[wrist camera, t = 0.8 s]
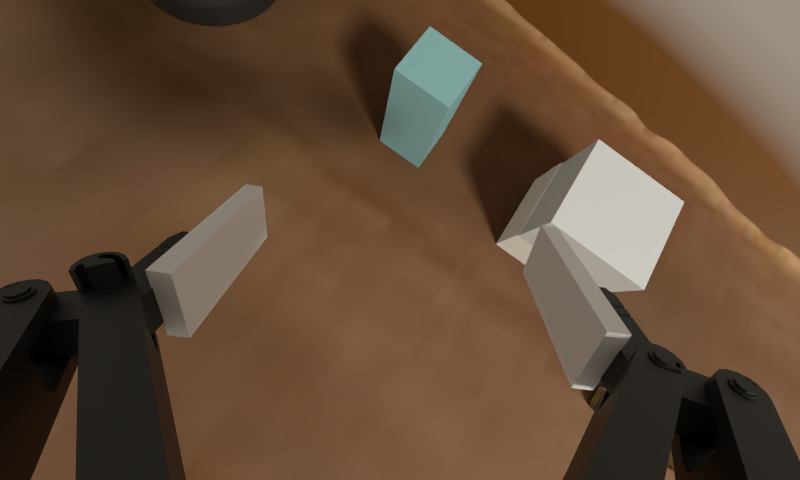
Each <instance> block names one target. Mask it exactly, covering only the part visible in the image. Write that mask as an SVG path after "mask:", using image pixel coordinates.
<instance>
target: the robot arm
mask: <svg viewBox="0 0 800 480" xmlns="http://www.w3.org/2000/svg"><path fill="white" fill-rule="evenodd" d="M151 1H152V2H153V3H154V4H155V5H157V6H158V7H159V8H161V9H162V10H163V11H165V12H167V13H168V14H170V15H172V16H174V17H177V18H179V19H181V20H184V21H187V22H191V23H195V24H200V25H209V26H223V25H231V24H237V23H240V22H244V21H247V20H249V19H252V18H254V17H256V16H258V15H259V14H261V13H262V12H264V11H265V10H266V9H268V8H269V7H270V6H271V5H272V4H273V3H274V1H275V0H151ZM266 238H267V229H266V219H265V209H264V199H263V189H262V186H255V185H247V184H246V185H244V186H243V187H242V188H241V189H240V190H239V191H237V192H236V193H235V194H234V195H233V196H231V197H230V198H229V199H228V200H227V201H226V202H224V203H223V204H222V205H221V206H220V207H219V208H217V209H216V210H215V211H214V212H213V213H211V214H210V215H209V216H208V217H207V218H206V219H204V220H203V221H202V222H201V223H200V224H199V225H197V226H196V227H195V228H194V229H193V230H192V231H190V232H184V231H182V232H180V233H178V234H175V235H173V236H171V237H169V238H167V239H166V240H165V241H164V242H163V243H161V244H160V245H159V247H156V248H155V249H154V250H153V251H151V253H149V254H148V255H146V256H145V257H144V258H143V259H141V260H140V261H139V262H138V263H136V264H135V265H134V266H133V267H131V266H130V263H129V260H128V258H127V257H126V255H125V254H122V253H119V252H103V253H97V254H93V255H90V256H87V257H85V258H82V259H80V260H78V261H77V262H75V263H74V264H73V265H72V266H71V267H70V269H69V273H70V275H71V277H72V279H73V281H74V283H75V285H76V287H77V289H78V290H77V291H65V292H54V290H53V288H52V286H51V285H50V284H49V282H48V281H44V280H40V279H36V280H25V281H19V282H15V283H12V284H9V285H6V286H4V287H2V288H0V480H31V477H32V475H33V473H34V470H35V468H36V465H37V463H38V460H39V458H40V455H41V453H42V451H43V448H44V446H45V443H46V441H47V438H48V436H49V434H50V431H51V429H52V426H53V424H54V421H55V419H56V417H57V414H58V412H59V409H60V407H61V404H62V402H63V400H64V397H65V395H66V392H67V390H68V387H69V385H70V383H71V380H72V378H73V375H74V373H75V370H76V368H77V366H78V394H77V441H76V480H186V478H185V473H184V468H183V463H182V458H181V453H180V448H179V443H178V438H177V433H176V428H175V423H174V418H173V413H172V408H171V403H170V398H169V393H168V388H167V383H166V378H165V373H164V368H163V363H162V358H161V353H160V348H159V343H158V338H157V336H156V333H155V331H156V330H157V329H158V328H159V327H160V326H161V324H162V323H163V324H164V327H165V330H166V332H167V335H171V336H179V337H186V338H190V337H191V336H192V335H193V334H194V332H195V331H196V330H197V328H198V327H199V326H200V324H201V323H202V322H203V320H204V319H205V318H206V317H207V315H208V314H209V313H210V311H211V310H212V309H213V307H214V306H215V305H216V303H217V302H218V301H219V300H220V298H221V297H222V296H223V294H224V293H225V292H226V290H227V289H228V288H229V286H230V285H231V284H232V283H233V281H234V280H235V279H236V277H237V276H238V275H239V273H240V272H241V271H242V269H243V268H244V267H245V266H246V264H247V263H248V262H249V260H250V259H251V258H252V256H253V255H254V254H255V252H256V251H257V250H258V249H259V247H260V246H261V245H262V243H263V242H264V241H265V239H266ZM523 274H524V276H525V278H526V281H527V283H528V285H529V288H530V290H531V293H532V295H533V297H534V300H535V302H536V305H537V307H538V309H539V312H540V314H541V316H542V319H543V321H544V324H545V326H546V328H547V331H548V333H549V336H550V338H551V340H552V343H553V345H554V347H555V350H556V352H557V355H558V357H559V359H560V362H561V364H562V367H563V369H564V371H565V374H566V376H567V378H568V381H569V383H570V386H571V388H577V389H585V390H592V391H593V390H594V389H595V387H596V386H597V385H598V383H599V382H600V380H602V382H603V384H604V385H605V387H606V389H607V390H606V391H605V393H604V394H603V395H602V397H601V398H600V399H599V401H598V402H597V404H596V405H595V406H594V408H593V410H594V411H595V412H594V414H593V416H592V418H591V421H590V423H589V425H588V427H587V429H586V431H585V433H584V436H583V438H582V440H581V442H580V444H579V446H578V448H577V451H576V453H575V455H574V457H573V459H572V461H571V463H570V466H569V468H568V470H567V472H566V474H565V476H564V478H563V480H664V479H665V474H666V470H667V465H668V460H669V455H670V451H672V458H673V465H674V473H675V480H800V461H799V459H798V457H797V454H796V452H795V450H794V448H793V446H792V444H791V441H790V439H789V437H788V435H787V433H786V430H785V428H784V426H783V424H782V422H781V420H780V417H779V415H778V413H777V411H776V409H775V406H774V404H773V402H772V400H771V399H770V397H769V396H768V394H767V393H766V392H765V391H764V390H763V389H762V388H761V387H760V386H759V385H758V384H757V383H755V382H754V381H752V380H751V379H749V378H748V377H746V376H743V375H741V374H739V373H737V372H734V371H731V370H728V369H719V370H718V371H716V372H715V373H714V374H713V375H712V376H711V377H710V378H709V377H707V376H704V375H701V374H698V373H695V372H693V371H690V370H687V369H686V367H685V366H684V364H683V363H682V361H681V360H680V359H679V358H678V357H677V356H676V355H674V354H673V353H671V352H670V351H668V350H667V349H665V348H663V347H661V346H658V345H656V344H651V343H650V341H649V340H648V339H647V337H646V336H645V334H644V333H643V332H642V330H641V329H640V328H639V326H638V325H637V324H636V322H635V321H634V320H633V318H632V317H630V314H629V313H628V311H627V310H626V309H624V306H623V305H622V303H621V302H620V301H619V299H618V298H617V297H616V296H615V295H614V294H613V293H611V292H610V291H609V290H608V289H606V288H604V287H598V285H597V284H596V282H595V281H594V280H593V278H592V277H591V275H590V274H589V272H588V271H587V269H586V268H585V267H584V265H583V264H582V262H581V261H580V259H579V258H578V256H577V255H576V254H575V252H574V251H573V249H572V248H571V246H570V245H569V243H568V242H567V241H566V239H565V238H564V236H563V235H562V233H561V232H560V230H559V229H558V228H557V227H552V226H544V225H541V227H540V229H539V232H538V234H537V237H536V239H535V242H534V245H533V247H532V250H531V252H530V255H529V257H528V260H527V262H526V265H525V267H524V270H523Z"/></svg>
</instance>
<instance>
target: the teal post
mask: <svg viewBox="0 0 800 480" xmlns="http://www.w3.org/2000/svg"><path fill="white" fill-rule="evenodd" d="M481 65H482V63H481V62H479V61H478V60H476V59H475V58H474V57H472V56H471V55H469V54H468V53H467V52H465V51H464V50H462V49H461V48H460V47H458V46H457V45H455V44H454V43H453V42H451V41H450V40H448V39H447V38H446V37H444V36H443V35H441V34H440V33H439V32H437V31H436V30H435V29H433V28H432V27H429V28H428V29H427V31H426V32H425V33H424V34H423V35H422V37H421V38H420V39H419V40H418V41H417V43H416V44H415V45H414V46H413V47H412V49H411V50H410V51H409V52H408V53H407V55H406V56H405V57H404V58H403V59H402V61H401V62H400V63H399V64H398V65H397V67H396V68H395V69H394V74H393V78H392V83H391V88H390V93H389V98H388V103H387V107H386V112H385V117H384V122H383V127H382V132H381V136H380V141H381V142H383V143H384V144H385V145H387V146H388V147H390V148H391V149H392V150H394V151H395V152H397V153H398V154H400V155H401V156H402V157H404V158H405V159H407V160H408V161H409V162H411V163H412V164H414V165H415V166H416V167H419V166H420V165H421V163H422V162H423V160H424V159H425V158H426V156H427V155H428V154H429V152H430V151H431V149H432V148H433V147H434V145H435V144H436V143H437V141H438V140H439V138H440V137H441V136H442V134H443V133H444V131H445V129H446V127H447V125H448V124H449V122H450V120H451V118H452V117H453V115H454V113H455V111H456V109H457V108H458V106H459V104H460V102H461V100H462V99H463V97H464V95H465V93H466V92H467V90H468V88H469V86H470V84H471V83H472V81H473V79H474V77H475V76H476V74H477V72H478V70H479V68H480V67H481Z"/></svg>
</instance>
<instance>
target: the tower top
mask: <svg viewBox="0 0 800 480" xmlns="http://www.w3.org/2000/svg"><path fill="white" fill-rule="evenodd" d="M683 204H684V201H682V200H681V199H679V198H678V197H677V196H675V195H674V194H673V193H671V192H670V191H669V190H667V189H666V188H664V187H663V186H662V185H660V184H659V183H658V182H656V181H655V180H654V179H652V178H651V177H649V176H648V175H647V174H645V173H644V172H643V171H641V170H640V169H639V168H637V167H636V166H634V165H633V164H632V163H630V162H629V161H628V160H626V159H625V158H624V157H622V156H621V155H619V154H618V153H617V152H615V151H614V150H613V149H611V148H610V147H609V146H607V145H606V144H604V143H603V142H602V141H600V140H599V139H598V140H597V141H595V142H594V143H592V144H591V145H589V146H588V147H586V148H585V149H583V150H582V151H580V152H579V153H577V154H576V155H574V156H573V157H571V158H570V159H568V160H567V161H565V162H564V163H562V164H561V166H560V167H559V169H558V171H557V172H556V174H555V176H554V177H553V179H552V181H551V182H550V184H549V186H548V187H547V189H546V191H545V192H544V194H543V196H542V197H541V199H540V201H539V202H538V204H537V206H536V207H535V209H534V211H533V212H532V214H531V216H530V217H529V219H528V221H527V222H526V224H525V226H524V227H523V229H522V231H521V232H520V234H519V237H521V238H522V239H524V240H525V241H526V242H528V243H529V244H530V245H532V246H533V245H534V242H535V239H536V237H537V234H538V232H539V229H540V227H541V225H544V226H552V227H557V228H558V229H559V230H560V232H561V233H562V235H563V236H564V238H565V239H566V241H567V242H568V243H569V245H570V246H571V248H572V249H573V251H574V252H575V254H576V255H577V256H578V258H579V259H580V261H581V262H582V264H583V265H584V267H585V268H586V269H587V271H588V272H589V274H590V275H591V277H592V278H593V280H594V281H595V282H596V284H597V285H598V287H604V288H606V289H608V290H609V291H610V292H619V291H635V290H644V289H645V287H646V285H647V283H648V280H649V278H650V276H651V274H652V272H653V269H654V267H655V265H656V263H657V261H658V258H659V256H660V254H661V252H662V250H663V247H664V245H665V243H666V241H667V239H668V237H669V234H670V232H671V230H672V228H673V226H674V223H675V221H676V219H677V217H678V215H679V212H680V210H681V208H682V206H683Z"/></svg>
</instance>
